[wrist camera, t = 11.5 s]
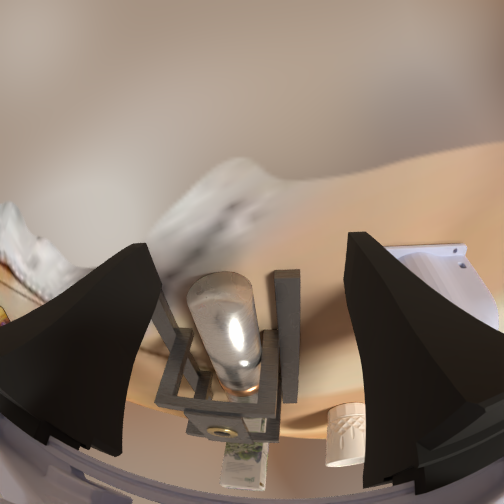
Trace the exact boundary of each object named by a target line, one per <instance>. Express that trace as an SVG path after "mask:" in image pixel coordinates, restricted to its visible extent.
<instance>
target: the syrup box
mask: <svg viewBox="0 0 504 504" xmlns="http://www.w3.org/2000/svg"><path fill="white" fill-rule="evenodd" d="M243 420H244V422H245V424H246V426H247V428H248V430H249V432H262V433H265V432H266V420H267V418H256V419H245V418H243ZM268 450H269V443H263V442H254V443H253V444H242V443H230V442H226V448H225V453H224V459H223V465H222V470H221V476H220V484H221V485H222V486H223V487H225V488H230V489H240V490H255V491H264V490H265V482H266V472H267V461H268Z"/></svg>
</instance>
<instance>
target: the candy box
mask: <svg viewBox="0 0 504 504" xmlns="http://www.w3.org/2000/svg"><path fill="white" fill-rule="evenodd" d="M7 323H10V321H9V319H8V317H7V315H6V313H5V312H4V310H3V308H2V307H0V326H3V325H5V324H7Z"/></svg>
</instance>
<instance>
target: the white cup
mask: <svg viewBox="0 0 504 504" xmlns="http://www.w3.org/2000/svg"><path fill="white" fill-rule="evenodd" d="M365 441H366V414H365V404H364V403H359V402H353V403H345V404H342V405H338V406H336V407H334V408H332V409H330V410H329V412H328V427H327V445H326V466H329V467H340V466H349V465H355V464H360V463H364V459H365Z"/></svg>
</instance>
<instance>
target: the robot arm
mask: <svg viewBox="0 0 504 504" xmlns="http://www.w3.org/2000/svg"><path fill="white" fill-rule="evenodd" d="M454 249H455V250H454ZM466 251H467V246H466V245H465V244H463V243H461V244H437V245H414V246H390V247H383V246H382V245H381V244H380V243H378V242H377V241H376V240H375V239H374V238H373V237H372V236H370V235H369V234H368V233H367V232H348V241H347V252H346V262H345V271H344V279H343V280H344V287H345V294H346V301H347V306H348V310H349V314H350V318H351V322H352V326H353V330H354V333H355V337H356V342H357V346H358V350H359V354H360V359H361V364H362V371H363V381H364V393H365V414H366V441H365V459H364V471H363V488H369V487H375V486H379V485H384V484H388V483H393V486H392V487H387V488H383V489H378V490H374V491H368V492H363V493H357V494H350V495H342V496H334V497H324V498H309V499H261V498H247V497H236V496H228V495H220V494H213V493H207V492H202V491H196V490H191V489H186V488H182V487H178V486H173V485H169V484H165V483H162V482H158V481H155V480H151V479H148V478H145V477H142V476H139V475H135V474H133V473H130V472H127V471H124V470H122V469H119V468H116V467H114V466H111V465H109V464H106V463H104V462H102V461H99V460H97V459H95V458H93V457H90V456H88V455H86V454H84V453H82V452H80V451H79V448H80V446H81V447H83V448H85V449H87V450H89V449H90V447H92V448H95V449H97V450H99V451H101V452H104V453H106V454H109V455H111V456H114V457H117V456H119V455H120V454H122V429H123V418H124V409H125V401H126V396H127V390H128V385H129V380H130V376H131V372H132V368H133V364H134V361H135V358H136V355H137V352H138V350H139V347H140V345H141V342H142V340H143V337H144V335H145V332H146V330H147V328H148V325H149V323H150V320H151V318H152V316H153V313H154V311H155V308H156V305H157V302H158V298H159V295H160V291H161V287H162V283H161V281H160V278H159V276H158V273H157V271H156V268H155V265H154V263H153V260H152V258H151V255H150V252H149V250H148V247H147V244H146V243H136V244H131V245H130V246H128V247H126V248H124V249H123V250H121V251H120V252H118V253H117V254H115V255H114V256H112V257H111V258H109V259H108V260H107V261H105V262H104V263H103V264H101V265H100V266H98V267H97V268H96V269H94V270H93V271H92V272H90V273H89V274H88V275H86V276H85V277H84V278H82V279H81V280H79V281H78V282H77V283H75V284H74V285H73V286H71V287H70V288H68V289H67V290H66V291H64V292H63V293H61V294H60V295H58V296H57V297H55V298H53V299H52V300H50V301H49V302H47V303H46V304H44V305H42V306H40V307H39V308H37V309H35V310H33V311H31V312H30V313H28V314H26V315H24V316H22V317H20V318H18V319H16V320H14V321H12V322H10V323H7V324H5V325H3V326H0V493H1V495H2V497H3V499H2V498H0V504H132V501H133V500H132V499H131V497H129V496H127V495H125V494H123V493H121V492H118V491H116V490H114V489H111V488H109V487H106V486H103V485H100V484H98V483H95V482H92V481H90V480H87V479H86V478H85V476H84V473H86V474H87V475H89V476H92V477H94V478H96V479H98V480H100V481H102V482H104V483H107V484H109V485H112V486H113V487H116V488H118V489H121V490H123V491H126V492H128V493H131V494H134V495H137V496H139V497H142V498H146V499H148V500H151V501H155V502H158V503H161V504H504V333H502V332H500V331H498V329H499V315H498V309H497V305H496V302H495V300H494V298H493V296H492V295H491V293H490V291H489V290H488V288H487V287H486V285H485V284H484V282H483V281H482V279H481V278H480V276H479V275H478V273H477V272H476V270H475V269H474V268H473V266H472V265H471V263H470V262H469V261H468V259H467V258H466V257H465V254H466ZM83 472H84V473H83Z"/></svg>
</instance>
